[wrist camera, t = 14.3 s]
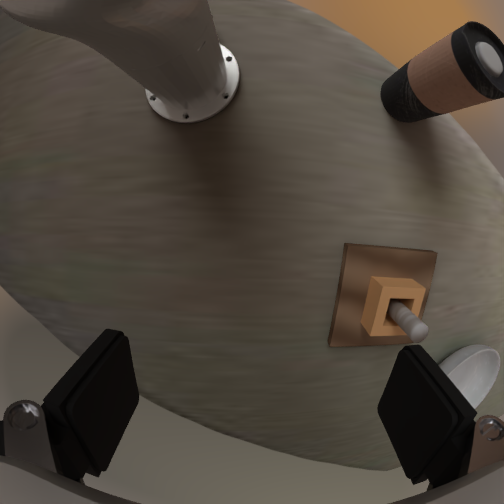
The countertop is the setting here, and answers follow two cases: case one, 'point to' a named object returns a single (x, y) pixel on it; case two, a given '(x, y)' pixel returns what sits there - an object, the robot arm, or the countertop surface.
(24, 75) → the countertop surface
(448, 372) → the serving bowl
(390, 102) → the travel mug
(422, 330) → the post stand
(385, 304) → the collar
